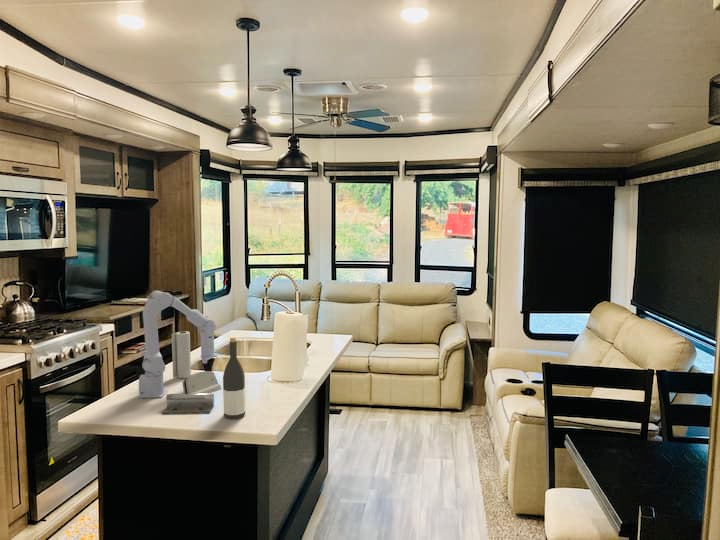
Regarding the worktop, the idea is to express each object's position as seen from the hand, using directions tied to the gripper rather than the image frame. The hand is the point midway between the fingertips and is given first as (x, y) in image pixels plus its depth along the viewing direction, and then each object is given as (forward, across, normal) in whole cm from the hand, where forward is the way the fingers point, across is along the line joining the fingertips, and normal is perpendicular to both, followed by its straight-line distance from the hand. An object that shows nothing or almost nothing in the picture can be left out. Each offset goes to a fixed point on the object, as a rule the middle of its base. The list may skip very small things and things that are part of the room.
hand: (208, 374), depth 249 cm
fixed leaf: (+4, -35, 0) cm, 35 cm away
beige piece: (+4, -14, 0) cm, 15 cm away
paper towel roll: (+4, +10, +14) cm, 18 cm away
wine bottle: (+4, -42, -19) cm, 46 cm away
